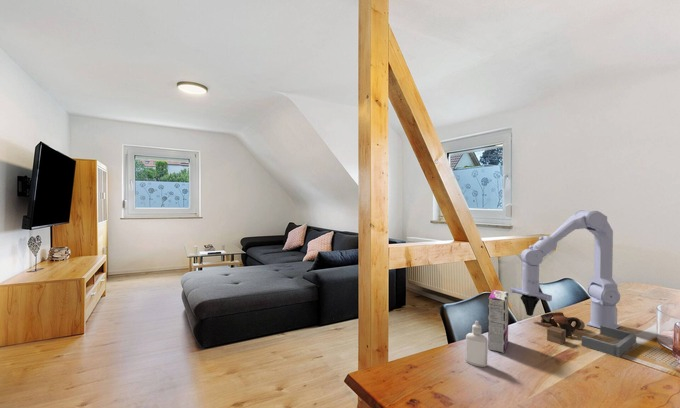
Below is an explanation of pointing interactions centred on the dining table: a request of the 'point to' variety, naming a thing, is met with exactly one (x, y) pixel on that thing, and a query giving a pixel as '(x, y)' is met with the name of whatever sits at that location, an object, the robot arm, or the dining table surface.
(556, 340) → the walnut block
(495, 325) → the candy bar box
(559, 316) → the pottery mug
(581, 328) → the cork ball
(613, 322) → the robot arm
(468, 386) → the dining table surface
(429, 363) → the dining table surface
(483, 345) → the eye dropper bottle
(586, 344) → the corral
